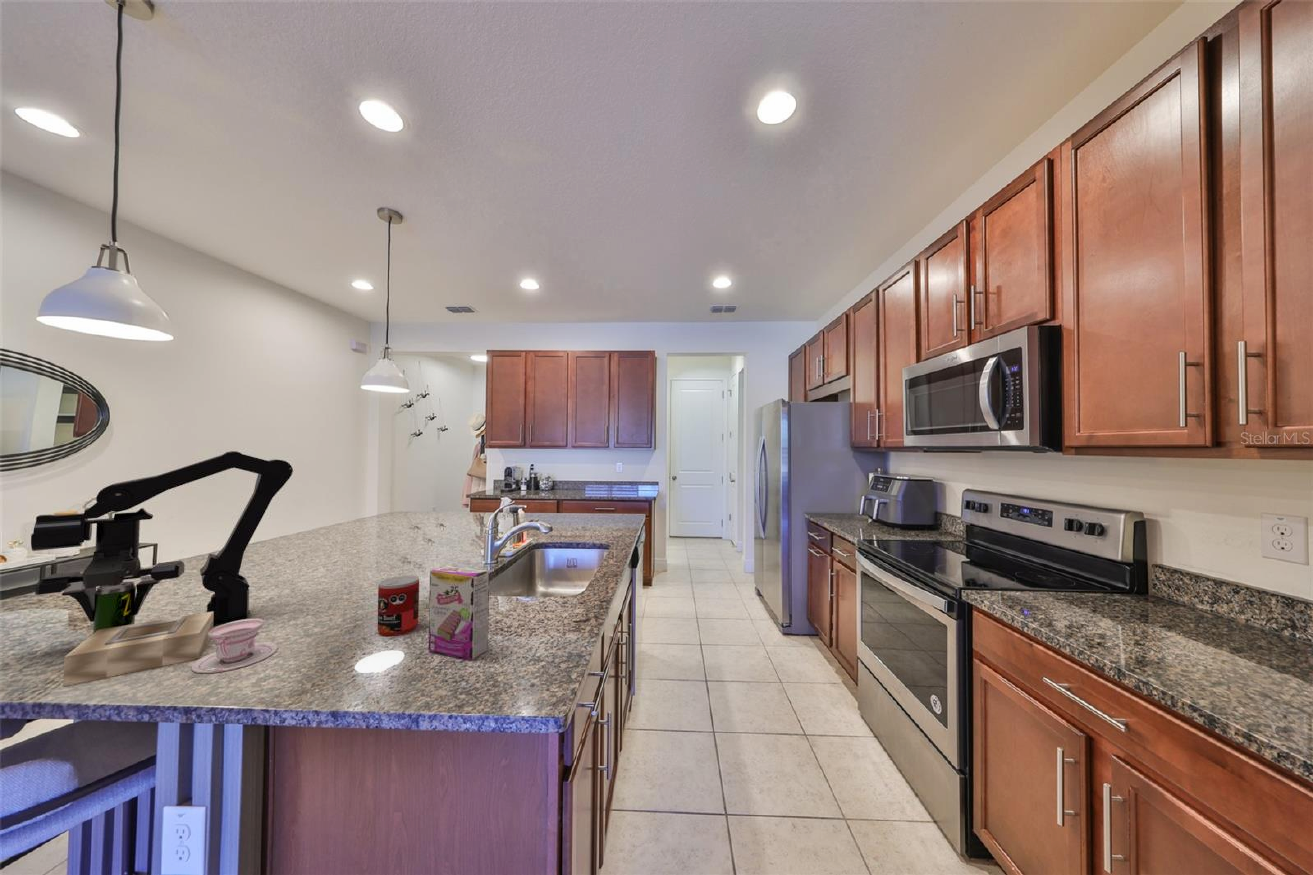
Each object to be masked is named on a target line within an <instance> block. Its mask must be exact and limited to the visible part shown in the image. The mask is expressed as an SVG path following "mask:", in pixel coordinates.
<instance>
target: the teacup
mask: <svg viewBox="0 0 1313 875" xmlns="http://www.w3.org/2000/svg"><path fill="white" fill-rule="evenodd" d="M263 626H264V620H263V619H261V618H247V619H244V620H238V621H233V622H229V623H223V624H219V625H217V626H216V627H213V629H212V630H210V631H209V632H208V637H209V638H210V640H213V644H214V645H215V646H216V651H214V652H212V653H210V654H207V655H204V656H203V657H201V658H199V659H197V660H196V661H195V662H194V663H193V664H192V665H191V671H192V672H194V673H195V674H196V673H197V674H215V673H222V672H227V671H233V670H238V669H240V668H244V667H247V666H250V665H253V664H255V663H258V662H261V661H263V660H265V659H267V658H269V657H271V656H273V655H274V654H275V653H277V651H278V648H279V646H278V645H277V644H276V643H273V642H267V641H264V642H263V641H261V642H260V641H259V642H255V639H256V636H258V635H259V631H260V630H261V628H263ZM261 650H268V651H267V652H266V651H263V652H261ZM269 650H270V651H269ZM250 653H251V654H253V655H251V657H248V658H247V656H248V655H249V654H250ZM264 655H265V656H264ZM245 658H247V659H245ZM243 659H244V660H243ZM221 661H223V662H224V663H220V662H221ZM236 661H237V662H236ZM222 664H223V665H222ZM200 668H227V669H222V670H203V669H200Z"/></svg>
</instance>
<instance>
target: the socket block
mask: <svg viewBox="0 0 1313 875" xmlns="http://www.w3.org/2000/svg"><path fill="white" fill-rule="evenodd" d="M213 619H214V611H212V612H207V611H206V612H202V613H201V612H200V613H195V614H190V615H181V616H176V617H175V616H174V617H169V618H163V619H158V620H157V619H155V620H151V621H145V622H138V623H135V624H131V625H125V626H119V627H112V628H106V629H100V630H97V631H96V632H95V633H93V632H92V634H90V636H88V637H87V638H86V639H85V640H84V641H82V642H81V643H80V644H78V645H77V646H76V647H75V648H73V650H70V652H69V653H67V654H66V655H65V656H64V661H63V663H64V664H63V679H62V680H63V681H62V687H69V686H72V685H77V684H82V683H86V682H87V683H88V682H91V681H92V682H93V681H97V680H103V679H107V678H111V677H115V676H116V675H117V676H121V674H122V675H126V674H125V673H127V674H131V673H135V672H136V673H137V672H141V671H146V670H151V669H155V668H160V667H165V665H166V666H170V664H171V665H176V664H180V663H185V662H189V661H194V660H199V659H200V657H201V655H202V654H203V652H204V650H205V648H206V647H207V646H208V644H209V642H210V640H211V639H210V638H209V637H208V632H209V631H210V630H212V629H213V628H214V625H213ZM117 676H116V677H117Z"/></svg>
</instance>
